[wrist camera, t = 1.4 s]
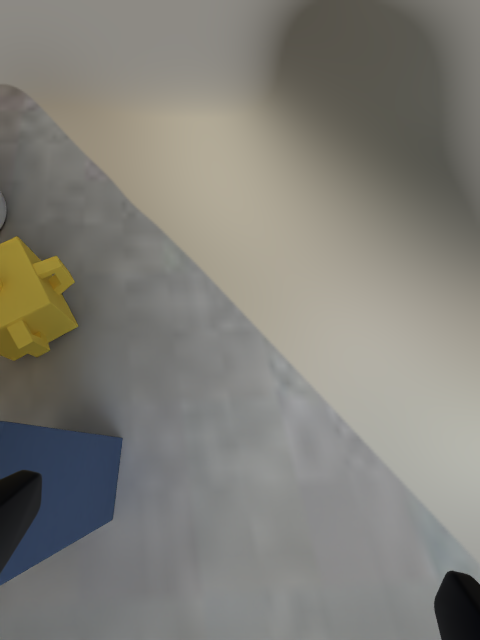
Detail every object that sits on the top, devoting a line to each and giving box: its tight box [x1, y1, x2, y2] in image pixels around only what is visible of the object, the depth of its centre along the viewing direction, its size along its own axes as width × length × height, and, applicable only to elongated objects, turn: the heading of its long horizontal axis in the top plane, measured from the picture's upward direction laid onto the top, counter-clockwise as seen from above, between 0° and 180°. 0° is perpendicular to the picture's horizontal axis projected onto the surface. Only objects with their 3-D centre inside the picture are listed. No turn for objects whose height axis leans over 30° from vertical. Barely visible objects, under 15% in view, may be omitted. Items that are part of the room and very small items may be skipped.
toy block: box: [0, 236, 78, 361], centre depth 22 cm, size 8×8×6 cm
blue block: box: [0, 421, 122, 585], centre depth 15 cm, size 4×4×12 cm
